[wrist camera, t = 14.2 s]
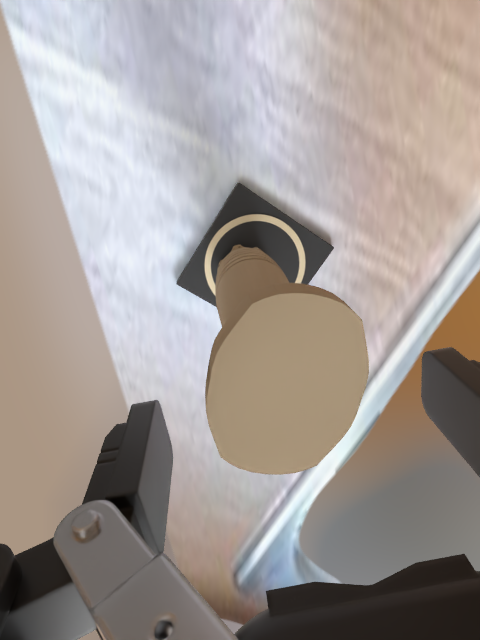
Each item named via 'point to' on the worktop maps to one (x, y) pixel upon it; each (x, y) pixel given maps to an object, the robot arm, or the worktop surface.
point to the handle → (281, 367)
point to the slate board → (253, 243)
